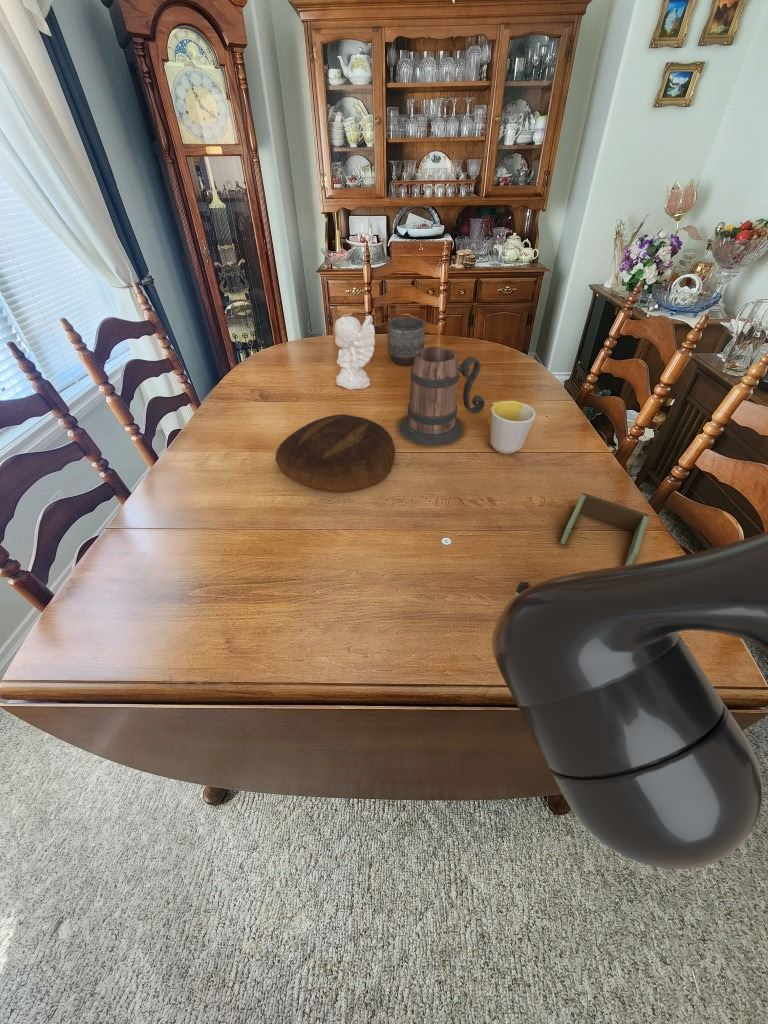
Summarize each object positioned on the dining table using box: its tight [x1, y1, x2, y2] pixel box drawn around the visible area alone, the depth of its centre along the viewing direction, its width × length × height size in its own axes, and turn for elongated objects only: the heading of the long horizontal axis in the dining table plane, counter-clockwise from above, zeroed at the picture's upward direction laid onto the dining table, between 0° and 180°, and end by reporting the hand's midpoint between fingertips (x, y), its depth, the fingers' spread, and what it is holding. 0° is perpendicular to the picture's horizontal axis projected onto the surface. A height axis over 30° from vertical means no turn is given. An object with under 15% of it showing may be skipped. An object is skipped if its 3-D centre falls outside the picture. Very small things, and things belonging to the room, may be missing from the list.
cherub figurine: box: [334, 314, 376, 391], centre depth 130 cm, size 13×12×20 cm
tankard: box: [399, 346, 486, 446], centre depth 109 cm, size 24×17×20 cm
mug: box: [487, 400, 536, 455], centre depth 105 cm, size 14×10×10 cm
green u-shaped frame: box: [559, 492, 650, 566], centre depth 83 cm, size 12×12×4 cm
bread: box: [275, 414, 396, 493], centre depth 101 cm, size 28×27×9 cm
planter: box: [387, 316, 426, 367], centre depth 143 cm, size 12×12×13 cm
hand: (583, 618), depth 47 cm, fingers open, 8 cm apart
